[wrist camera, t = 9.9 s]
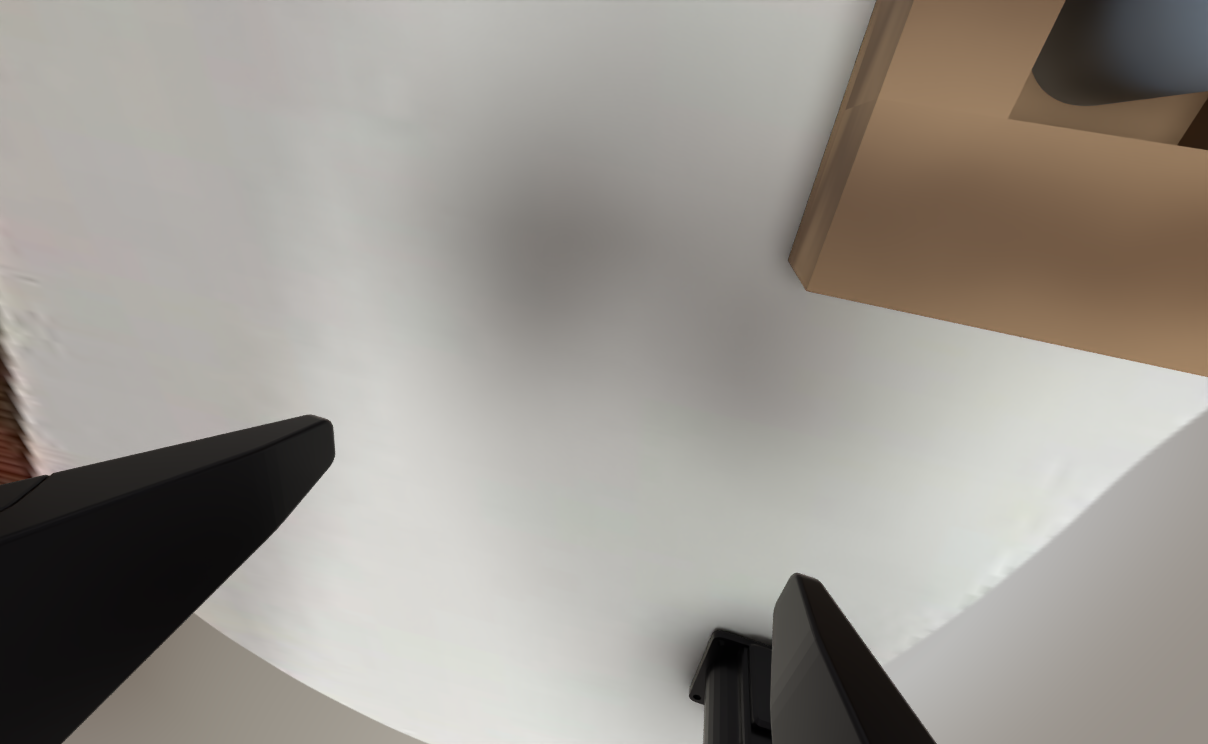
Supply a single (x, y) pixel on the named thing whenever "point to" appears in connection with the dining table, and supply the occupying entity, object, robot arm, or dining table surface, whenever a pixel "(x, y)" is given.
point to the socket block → (1010, 191)
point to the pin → (1125, 51)
